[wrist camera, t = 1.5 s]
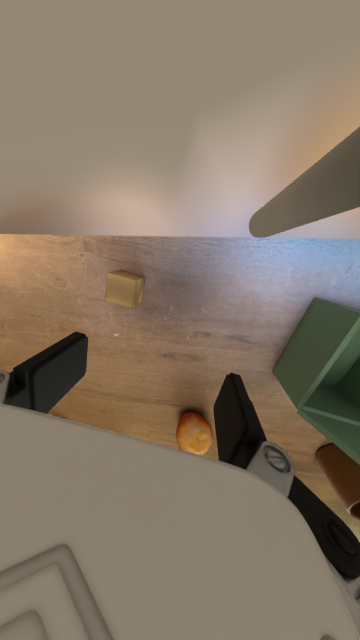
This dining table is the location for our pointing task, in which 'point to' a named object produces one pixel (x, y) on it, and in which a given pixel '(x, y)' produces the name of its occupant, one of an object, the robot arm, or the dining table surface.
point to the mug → (342, 476)
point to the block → (124, 288)
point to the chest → (324, 362)
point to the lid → (336, 432)
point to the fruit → (194, 433)
